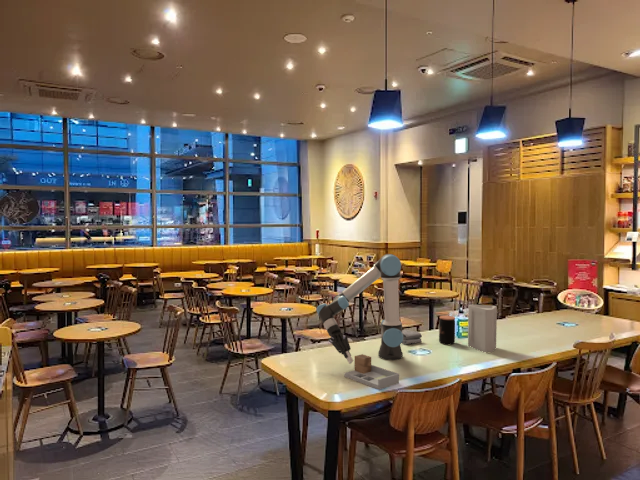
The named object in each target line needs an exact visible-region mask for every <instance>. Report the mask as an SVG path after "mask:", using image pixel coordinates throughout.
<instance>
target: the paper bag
mask: <svg viewBox="0 0 640 480" xmlns="http://www.w3.org/2000/svg"><path fill="white" fill-rule="evenodd" d="M497 309H498V307H497V306H496V305H489V304H487V305H486V304H468V319H467V320H468V322H467V323H468V324H467V327H468V330H467V332H468V333H467V346H468V347H470V346H471V347H470V348H472V347H473V348H472V349H474V348H475V350H477V349H478V350H477V351H479V350H480V351H479V352H482V351H483V352H482V353H484V352H491V353H493V352H494V351H495V350H496V349H497V328H498V327H497V323H498V321H497V317H498V310H497ZM495 348H496V349H495ZM494 349H495V350H494ZM493 350H494V351H493ZM492 351H493V352H492Z"/></svg>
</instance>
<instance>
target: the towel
mask: <svg viewBox="0 0 640 480" xmlns="http://www.w3.org/2000/svg"><path fill="white" fill-rule="evenodd" d="M402 334H403V341H402V344H401V345H411V343H412V344H418V343H421V342H422V338H423V337H422V335H423V334H422V333H420V332H419V331H417V330H415V331H414V330H408V329H402Z"/></svg>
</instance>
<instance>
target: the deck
mask: <svg viewBox="0 0 640 480" xmlns="http://www.w3.org/2000/svg"><path fill="white" fill-rule="evenodd" d="M344 377H345V378H348V379H350V380H352V381H353V380H354V381H355V382H358V383H361V384H363V385H365V386H369V387H371V388H373V389H377V390H383V389H386V388H389V387H392V386H396V385H398V384H400V373H398V372H394V371H392V370H388V369H386V368H382V367H380V366H376V365H374V364H371V372H368V373H364V374H363V373H360V372H357V371H355V369H352V370H350V371H346V372H344Z"/></svg>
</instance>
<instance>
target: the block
mask: <svg viewBox="0 0 640 480" xmlns="http://www.w3.org/2000/svg"><path fill="white" fill-rule="evenodd" d="M371 365H372V356H370V355H366V354H363V353H362V354H358V355H354V370H355V371H357V372H360V373H363V374H364V373H368V372H371Z"/></svg>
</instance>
